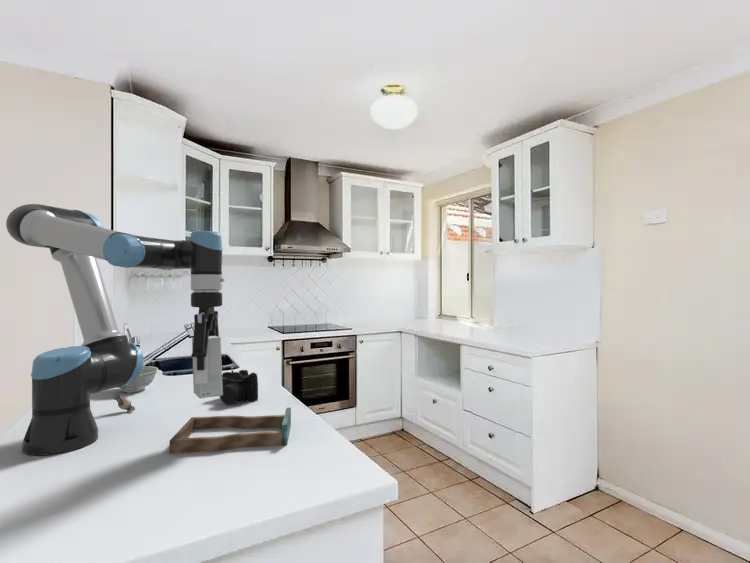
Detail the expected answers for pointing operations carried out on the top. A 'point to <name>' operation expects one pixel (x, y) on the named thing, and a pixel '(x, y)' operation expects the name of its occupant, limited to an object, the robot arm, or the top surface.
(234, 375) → the camera
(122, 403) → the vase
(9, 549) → the top surface
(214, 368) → the skincare box
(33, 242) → the robot arm
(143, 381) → the bowl
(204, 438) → the brown wooden frame
